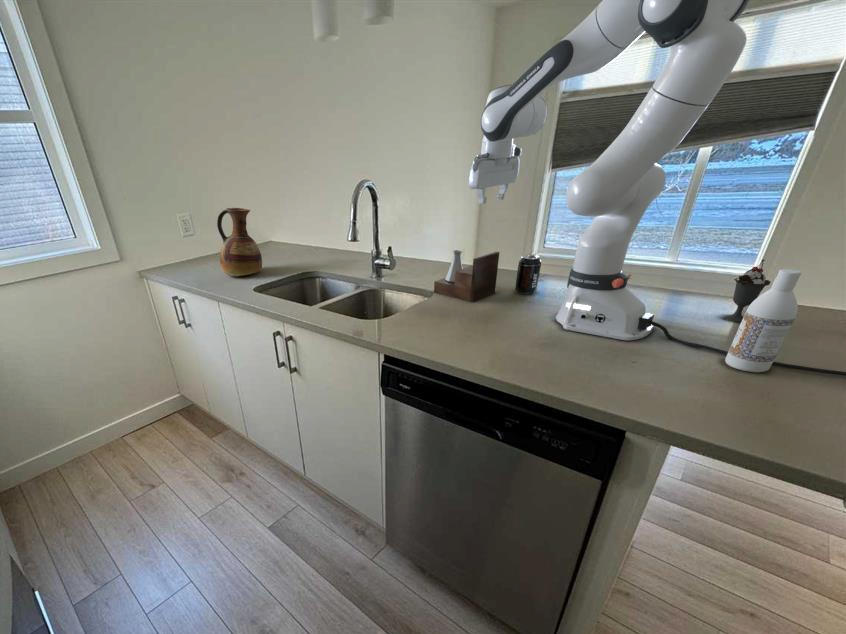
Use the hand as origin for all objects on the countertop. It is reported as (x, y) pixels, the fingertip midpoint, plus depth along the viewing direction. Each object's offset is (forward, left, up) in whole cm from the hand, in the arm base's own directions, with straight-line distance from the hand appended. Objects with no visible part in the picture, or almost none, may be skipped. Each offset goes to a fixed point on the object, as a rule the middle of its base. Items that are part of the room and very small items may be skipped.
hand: (491, 201), depth 129 cm
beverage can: (-12, -7, -29) cm, 32 cm away
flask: (+7, +6, -25) cm, 27 cm away
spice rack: (+3, +6, -29) cm, 30 cm away
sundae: (-64, -19, -29) cm, 73 cm away
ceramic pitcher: (+102, +47, -29) cm, 116 cm away
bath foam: (-73, +10, -29) cm, 79 cm away
